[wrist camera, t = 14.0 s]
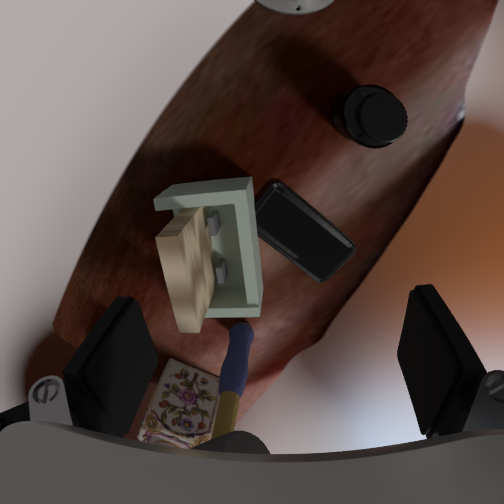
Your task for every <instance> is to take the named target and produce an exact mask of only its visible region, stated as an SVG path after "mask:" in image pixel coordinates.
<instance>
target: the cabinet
mask: <svg viewBox="0 0 504 504" xmlns="http://www.w3.org/2000/svg"><path fill="white" fill-rule="evenodd" d="M153 200H154V205H155V210H156V211H160V210H170V209H173V213H174V217H175V216H176V215H177V214H178V213H179V212H180V210H181V209H182V208H190V207H201V206H207V213H208V218H207V220H208V227H209V233H210V236H211V239H212V245H213V252H214V258H215V264H216V274H217V280H218V282H217V285H216V288H215V290H214V293H213V296H212V298H211V301H210V304H209V307H208V309H207V312H206V315H205V318H219V317H260V311H261V303H262V295H263V281H262V271H261V261H260V251H259V241H258V236H257V226H256V216H255V208H254V206H255V202H254V192H253V183H252V177H241V178H229V179H219V180H209V181H199V182H190V183H182V184H174V185H171V186H170V187H169V188H167V189H166V190H164V191H163V192H162V193H160V194H159V195H158V196H156V197H155V198H154V199H153Z"/></svg>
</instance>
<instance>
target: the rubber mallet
mask: <svg viewBox="0 0 504 504" xmlns="http://www.w3.org/2000/svg"><path fill="white" fill-rule="evenodd" d="M229 338H230V341H229V346H228V351H227V355H226V358H225V360H224V362H223V365H222V368H221V373H220V379H219V395H220V399H219V404H218V409H217V414H216V419H215V423H214V428H213V433H212V438H211V440H209V441H206V442H204V443H201V444H199V445H196V446H194V447H193V448H191V449H194V450H203V451H214V452H227V453H244V454H270V452H269V451H268V449H267V447H266V446H265V444H264V443H263V442H262V441H261V440H260V439H259V438H258V437H256V436H255V435H253V434H251V433H249V432H245V431H234V427H235V422H236V416H237V411H238V405H239V400H240V397H241V396H242V393H243V391H244V387H245V384H246V380H247V375H248V356H249V350H250V344H251V343H252V341H253V338H254V333H253V330H252V328H251V326H250V325H249V324H247V323H245V322H240V323H237V324H235V325H234V326H233V327H232V328H231V329H230V332H229Z"/></svg>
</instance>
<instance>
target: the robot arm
mask: <svg viewBox="0 0 504 504" xmlns="http://www.w3.org/2000/svg"><path fill="white" fill-rule="evenodd" d="M255 1H256V2H257V3H259V4H260V5H262V6H263V7H265V8H267V9H269V10H271V11H274V12H278V13H281V14H287V15H305V14H311V13H314V12H317V11H320V10H322V9H324V8H326V7H327V6H329V5H330V4H331V3H332V2H333V1H334V0H255ZM297 8H298V9H300V10H299V11H297V10H296V9H297ZM397 357H398V361H399V364H400V367H401V370H402V373H403V376H404V379H405V382H406V385H407V388H408V391H409V395H410V398H411V401H412V404H413V408H414V411H415V414H416V417H417V421H418V424H419V428H420V432H421V434H422V435H426V437H427V439H425V440H419V441H414V442H408V443H403V444H396V445H390V446H383V447H377V448H369V449H361V450H352V451H342V452H328V453H311V454H244V453H227V452H214V451H203V450H194V449H186V448H178V447H171V446H164V445H158V444H152V443H147V442H141V441H136V440H131V439H126V438H123V436H124V434H127V433H128V432H129V430H130V427H131V425H132V423H133V420H134V418H135V416H136V413H137V411H138V408H139V406H140V404H141V401H142V399H143V397H144V395H145V392H146V390H147V387H148V385H149V383H150V381H151V378H152V376H153V374H154V372H155V369H156V367H157V365H158V355H157V353H156V350H155V347H154V345H153V342H152V339H151V337H150V334H149V331H148V328H147V325H146V323H145V320H144V317H143V314H142V311H141V308H140V305H139V303H138V301H135V299H134V298H133V297H117V298H115V300H114V301H113V302H112V304H111V305H110V306H109V308H108V309H107V310H106V311H105V313H104V314H103V315H102V317H101V318H100V319H99V321H98V322H97V323H96V325H95V326H94V327H93V329H92V330H91V332H90V333H89V334H88V336H87V337H86V338H85V340H84V341H83V343H82V344H81V345H80V347H79V348H78V350H77V351H76V352H75V354H74V355H73V357H72V358H71V359H70V361H69V362H68V364H67V365H66V367H65V368H64V370H63V371H62V372H63V374H64V376H65V377H64V378H63V380H62V379H60V378H59V377H57V376H47V377H44V378H42V379H40V380H38V381H37V382H36V383H35V384H34V385H33V386H32V387H31V390H30V392H29V401H28V402H26V403H23V404H21V405H18V406H16V407H14V408H11V409H9V410H7V411H4V412H2V413H0V504H504V371H502V370H493V371H490V372H488V373H487V372H486V370H485V368H484V366H483V364H482V362H481V361H480V359H479V357H478V355H477V353H476V352H475V350H474V348H473V347H472V345H471V343H470V341H469V340H468V338H467V337H466V335H465V333H464V332H463V330H462V328H461V327H460V325H459V323H458V322H457V321H456V319H455V318H454V316H453V315H452V313H451V311H450V310H449V309H448V307H447V305H446V304H445V302H444V301H443V299H442V298H441V296H440V295H439V293H438V292H437V290H436V289H435V288H434V286H433V285H432V284H427V285H417V286H416V287H415V288H414V290H411V291H410V293H409V299H408V304H407V309H406V314H405V319H404V324H403V329H402V333H401V337H400V342H399V346H398V350H397Z"/></svg>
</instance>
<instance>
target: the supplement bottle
mask: <svg viewBox="0 0 504 504" xmlns="http://www.w3.org/2000/svg"><path fill="white" fill-rule="evenodd" d="M407 118H408V116H407V112H406V110H405V107H404V106H403V104H402V103H401V102H400V101H399V99H397V98H396V97H395V95H393V94H392V93H391V92H390V91H389V90H387V89H385V88H383V87H381V86H377V85H362V86H359V87H355V88H352V89H349V90H346V91H344V92H342V93H340V94H339V95H338V96H337V97H336V98H335V100H334V101H333V104H332V106H331V120H332V123H333V125H334V127H335V129H336V130H337V131H338V132H339V133H340V134H341V135H342V136H343V137H345V138H347V139H349V140H351V141H353V142H355V143H357V144H359V145H361V146H364V147H367V148H374V149H376V148H383V147H386V146H388V145H390V144H392V143H393V142H394V141H395V140H397V139H398V138H400V137H401V135H403V133H404V131H405V130H406V127H407V122H408V120H407Z"/></svg>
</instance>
